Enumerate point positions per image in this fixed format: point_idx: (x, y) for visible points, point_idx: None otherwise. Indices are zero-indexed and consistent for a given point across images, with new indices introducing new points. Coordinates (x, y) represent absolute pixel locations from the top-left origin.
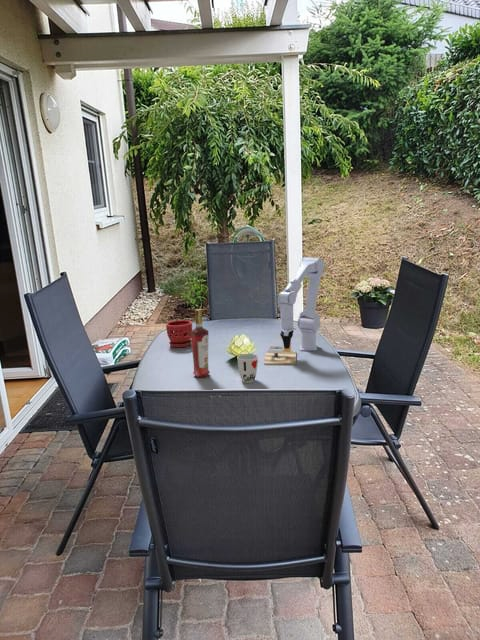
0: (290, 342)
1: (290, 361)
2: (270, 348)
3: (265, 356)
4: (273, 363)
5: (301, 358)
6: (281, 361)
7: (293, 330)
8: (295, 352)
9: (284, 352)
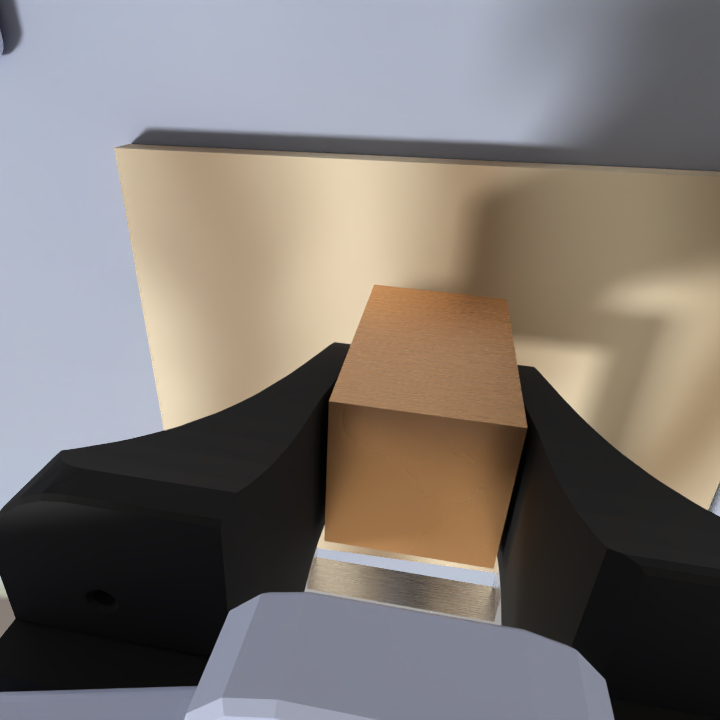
0: (524, 409)
1: (704, 274)
2: (410, 607)
3: (403, 557)
4: (707, 500)
5: (442, 50)
6: (664, 405)
7: (55, 494)
8: (191, 161)
9: (215, 334)
